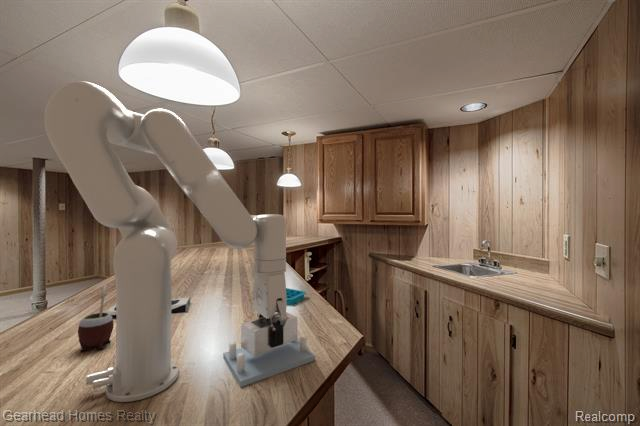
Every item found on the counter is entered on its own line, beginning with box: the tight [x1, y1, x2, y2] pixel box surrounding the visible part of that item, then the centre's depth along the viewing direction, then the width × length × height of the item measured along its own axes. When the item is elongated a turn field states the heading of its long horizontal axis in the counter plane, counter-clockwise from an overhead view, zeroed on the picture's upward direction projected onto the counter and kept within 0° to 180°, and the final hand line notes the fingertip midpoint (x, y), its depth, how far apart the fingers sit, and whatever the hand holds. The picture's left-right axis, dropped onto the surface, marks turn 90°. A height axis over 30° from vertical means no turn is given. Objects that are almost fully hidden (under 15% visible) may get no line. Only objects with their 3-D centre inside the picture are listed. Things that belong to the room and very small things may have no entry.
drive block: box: [240, 311, 298, 357], centre depth 65 cm, size 12×6×6 cm, turn 134°
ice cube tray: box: [286, 287, 307, 306], centre depth 111 cm, size 12×20×3 cm, turn 60°
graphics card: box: [106, 297, 191, 320], centre depth 95 cm, size 10×3×25 cm
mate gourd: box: [77, 283, 114, 354], centre depth 70 cm, size 8×8×15 cm
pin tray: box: [222, 334, 316, 388], centre depth 65 cm, size 18×13×5 cm
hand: (270, 338), depth 65 cm, fingers closed on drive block, 6 cm apart
